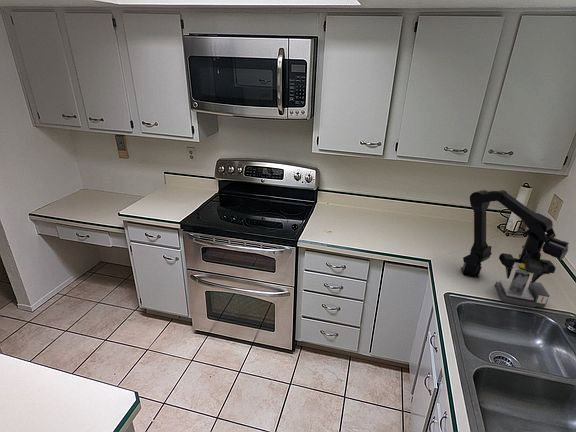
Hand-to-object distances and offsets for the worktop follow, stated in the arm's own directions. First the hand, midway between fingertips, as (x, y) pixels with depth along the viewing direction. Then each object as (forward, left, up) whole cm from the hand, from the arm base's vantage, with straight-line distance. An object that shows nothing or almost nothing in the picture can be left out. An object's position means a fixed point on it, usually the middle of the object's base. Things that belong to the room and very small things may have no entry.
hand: (519, 280), depth 146 cm
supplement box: (+13, +27, -8) cm, 31 cm away
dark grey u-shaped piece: (+2, 0, -8) cm, 8 cm away
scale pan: (0, 0, -5) cm, 5 cm away
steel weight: (0, 0, -4) cm, 4 cm away
